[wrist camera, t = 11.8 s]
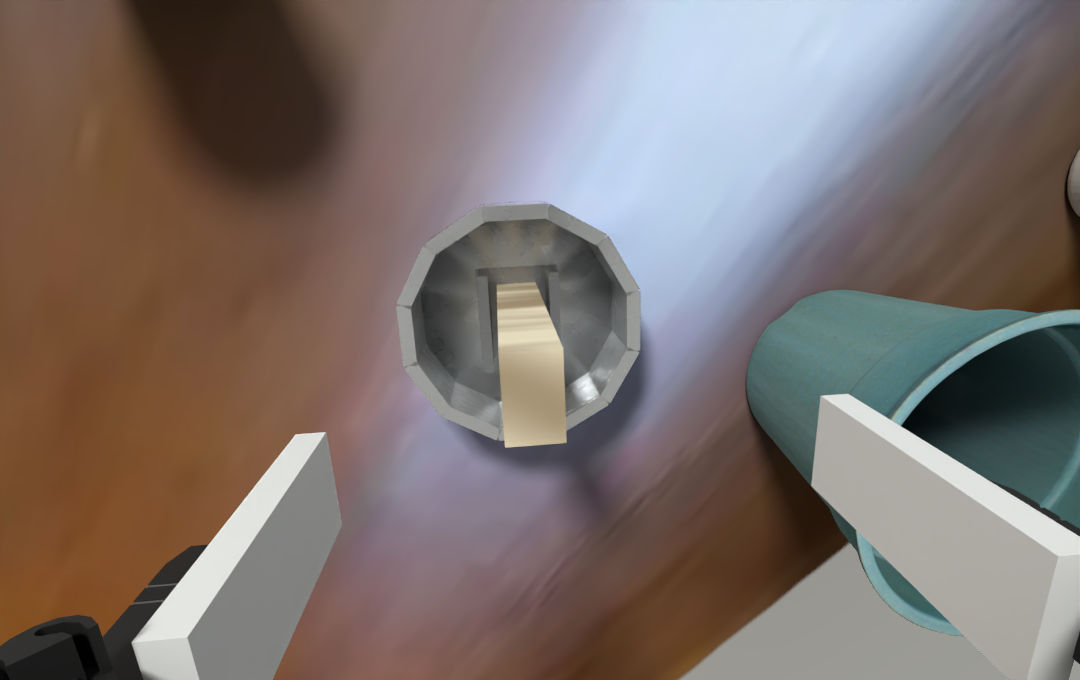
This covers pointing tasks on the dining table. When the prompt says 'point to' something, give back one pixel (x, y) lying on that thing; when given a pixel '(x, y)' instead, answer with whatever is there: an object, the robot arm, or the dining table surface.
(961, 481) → the robot arm
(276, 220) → the dining table surface
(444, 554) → the dining table surface
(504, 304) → the cream rectangular wooden bar
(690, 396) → the dining table surface
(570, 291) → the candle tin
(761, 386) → the flower pot
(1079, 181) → the coffee cup
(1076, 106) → the dining table surface
